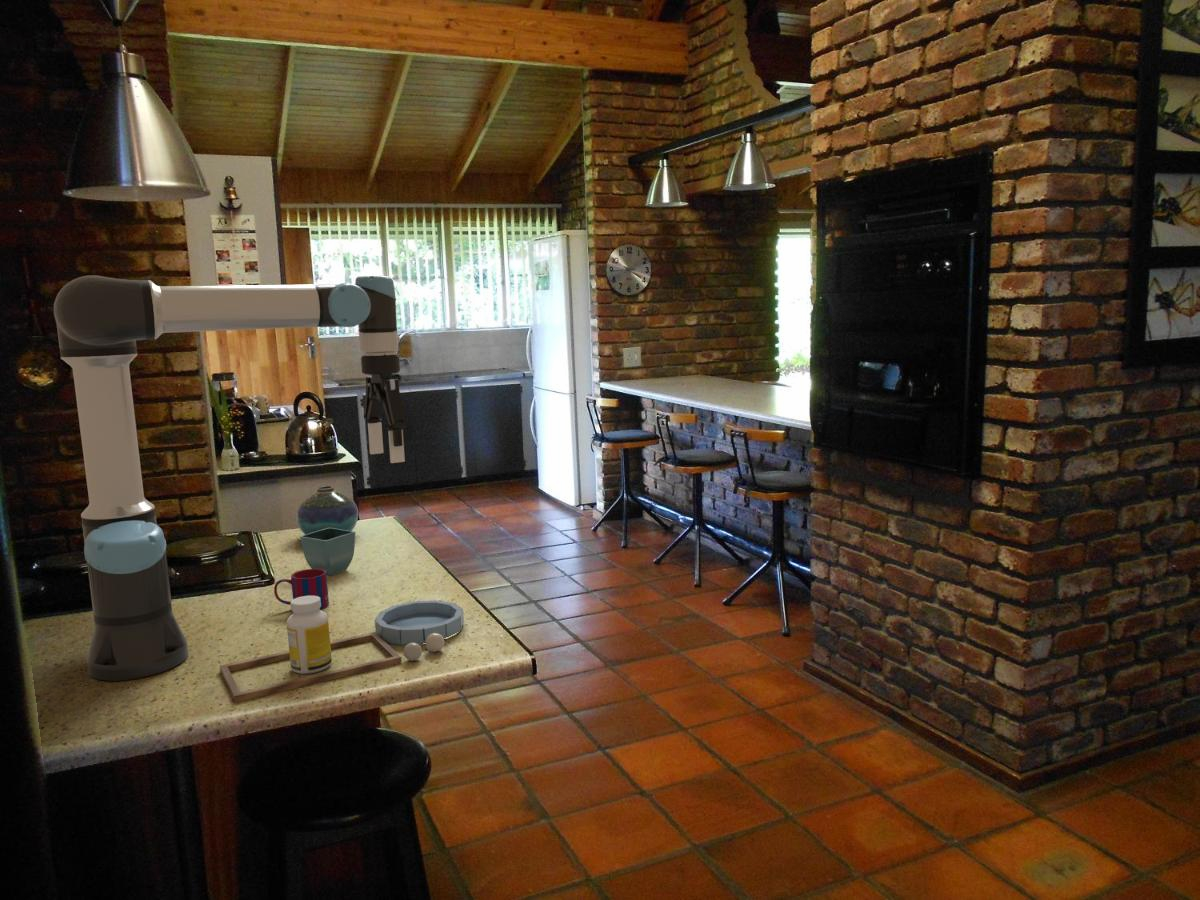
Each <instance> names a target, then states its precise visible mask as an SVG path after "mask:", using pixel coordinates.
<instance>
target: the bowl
mask: <svg viewBox="0 0 1200 900" xmlns="http://www.w3.org/2000/svg"><path fill="white" fill-rule="evenodd" d="M464 618H465V617H464V609H463V608H462V607H461V606H459V604H457V603H455V602H451V601H450V602H449V601H445V600H439V599H438V600H434V599H433V600H416V601H415V600H413V601H409V602H404V603H399V604H396V605H392V606H390V607H388V608H385V609H383V610H381V611H379V612H378V614H377V615H376V617H375V619H374V629H375V632H376V633H377V634H378V635H379V636H380V637H381V638H382V639H383V640H384V641H385V642H386V643H387V644H389V643H390V645H394V644H395V645H396V646H404V645H407V644H409V643H412V642H414V643H417V644H423V643H426V639H427V637H428V636H429V635H430V634H432V633H439V634H441V635H442V636H443V638H446V637H449V636H451V635H453V634H455V633H457V632H459V631H460V630H461V629H462V626H463V627H464V623H465V619H464ZM462 630H463V629H462ZM462 630H461V631H462ZM461 631H460V632H461ZM460 632H459V633H460ZM395 645H394V646H395Z"/></svg>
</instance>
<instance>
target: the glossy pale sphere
mask: <svg viewBox="0 0 1200 900" xmlns="http://www.w3.org/2000/svg"><path fill="white" fill-rule="evenodd" d="M421 646H422V645H419V644H417V643H414V642H412V643H409V644H407V645H406V646H404V648H403V655H404V658H405V660H407V661H410V662H411V661H412V662H413V661H414V660H415V661H417V660H420V658H421V656H422V654H423V649H422V647H421Z"/></svg>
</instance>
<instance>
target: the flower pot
mask: <svg viewBox="0 0 1200 900" xmlns="http://www.w3.org/2000/svg"><path fill="white" fill-rule="evenodd" d="M299 539H300V540H299V541H300V543H301V548H302V552H303V556H304V559H305V561H306V563H307V565H308V567H310V569H323V570H325V571H326V573H327V576H329V577H330V576H334V575H337V574H339V573H342V572H344V571H347V569H348V568H349V567H350V564H351V563H352V561H353V558H354V554H355V543H356V542H355V541H356V531H355V530H352V531H348V530H342V529H336V528H326V529H322V530H319V531H316V532H312V533H309V534H306V535H305V534H303V535H300V536H299Z"/></svg>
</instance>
